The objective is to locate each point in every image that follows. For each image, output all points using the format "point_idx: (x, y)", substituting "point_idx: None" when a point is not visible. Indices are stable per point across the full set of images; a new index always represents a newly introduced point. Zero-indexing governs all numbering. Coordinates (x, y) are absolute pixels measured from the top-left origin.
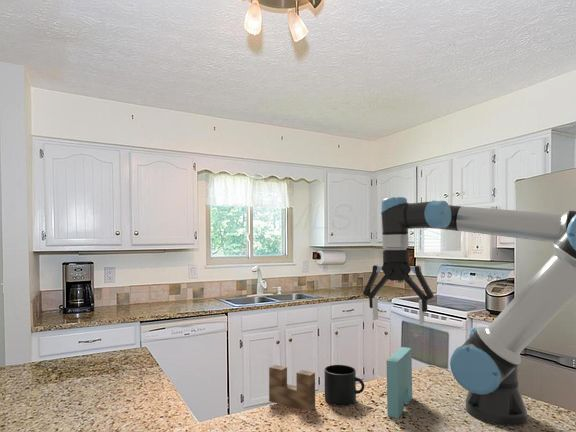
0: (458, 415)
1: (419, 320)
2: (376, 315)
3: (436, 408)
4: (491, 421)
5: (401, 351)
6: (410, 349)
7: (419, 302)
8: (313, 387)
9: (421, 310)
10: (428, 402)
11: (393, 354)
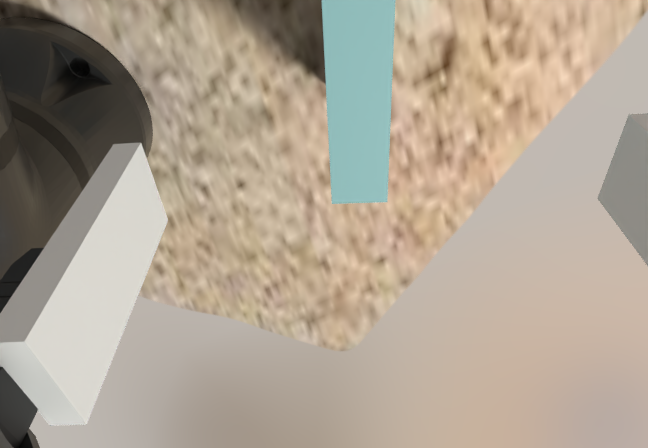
0: (140, 24)
1: (128, 161)
2: (636, 178)
3: (226, 42)
4: (20, 18)
5: (363, 117)
6: (331, 186)
7: (24, 320)
8: None
9: (54, 237)
10: (269, 81)
11: (391, 21)
